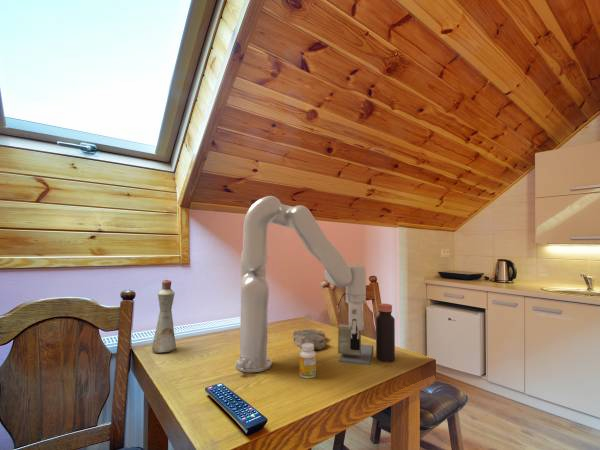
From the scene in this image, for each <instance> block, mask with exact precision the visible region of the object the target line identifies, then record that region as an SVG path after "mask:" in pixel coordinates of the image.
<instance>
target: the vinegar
mask: <svg viewBox="0 0 600 450" xmlns="http://www.w3.org/2000/svg"><path fill="white" fill-rule="evenodd" d="M378 312H379V314H378V315H377V316H376V317H375V323H376V324H375V334H376V335H375V340H376V341H375V347H376V348H375V357H376V359H377V360H379V361H380V362H383V363H392V362H394V361H395V360H396V351H395V350H396V344H395V343H396V341H395V340H396V338H395V337H396V336H395V335H396V334H395V333H396V332H395V331H396V329H395V327H396V326H395V317H394V316H393V315H392V313H393V305H392V304H390V303H379V304H378Z"/></svg>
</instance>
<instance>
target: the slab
mask: <svg viewBox="0 0 600 450" xmlns="http://www.w3.org/2000/svg"><path fill="white" fill-rule="evenodd" d="M356 330H358V329H356ZM337 333H338V340H337V342H338V343H337V347H338V349H337V350H338V352H337V353H338V354H341V355H342V354H349V355H358V356H360V353H361V344H362V339H361V337H362V331H360V330H359V350H351V349H350V342H351V331H350V330H349V323H339V324H338V331H337ZM356 333H357V332H356Z"/></svg>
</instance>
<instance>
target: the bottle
mask: <svg viewBox="0 0 600 450" xmlns="http://www.w3.org/2000/svg"><path fill="white" fill-rule="evenodd" d="M161 287H162V288H161V290H160V291H158V293H157V298H158V305H159V314H158V319H157V322H156V323H157V324H156V329H155V332H154V337H153V342H152V345H151V349H152V353H156V354H157V353H158V354H159V353H169V352H174V350H175V349H176V346H177V345H176V344H177V343H176V337H175V328H174V321H173V313H172V308H173V304H174V299H175V298H174V297H175V294H176V293H175V292H174V290H173V289H172V280H170V279H167V278H166V279H165V280H162V281H161Z"/></svg>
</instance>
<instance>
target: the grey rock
mask: <svg viewBox="0 0 600 450" xmlns="http://www.w3.org/2000/svg"><path fill="white" fill-rule="evenodd" d="M292 337H293V338H292V339H293V342H294V344H295V346H297V347H299V348H300V349H302V344H304V343H312V344H314V350H322V349H324V348H325V347H327V339H326V333H325V332H324V331H322V330H318V329H301V330H294V331H293V332H292Z"/></svg>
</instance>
